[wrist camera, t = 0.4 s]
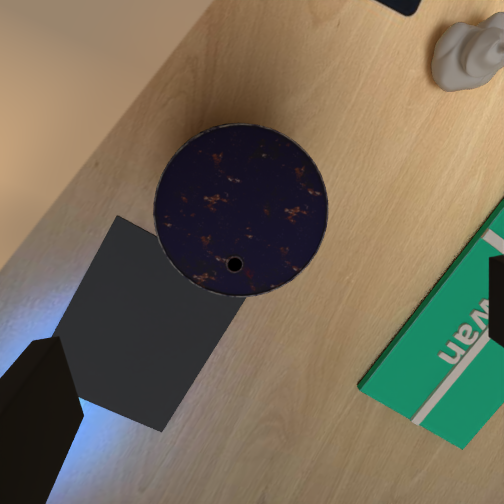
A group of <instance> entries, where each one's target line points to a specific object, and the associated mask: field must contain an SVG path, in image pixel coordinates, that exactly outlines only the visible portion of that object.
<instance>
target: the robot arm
mask: <svg viewBox="0 0 504 504" xmlns="http://www.w3.org/2000/svg"><path fill="white" fill-rule="evenodd" d="M488 337H489V338H491V339H492V340H493V341H495V342H496V343H498V344H499V345H500V346H502V347H503V348H504V255H498V256H493V257H489V311H488ZM83 417H84V414H83V411H82V407H81V404H80V401H79V398H78V394H77V391H76V388H75V385H74V382H73V378H72V375H71V372H70V369H69V365H68V362H67V359H66V356H65V353H64V349H63V346H62V343H61V340H60V337H59V336H56V337H51V338H45V339H40V340H34V341H32V342H31V343H30V344H29V345H28V347H27V348H26V349H25V350H24V351H23V352H22V354H21V355H20V356H19V357H18V358H17V359H16V361H15V362H14V363H13V364H12V365H11V366H10V368H9V369H8V370H7V371H6V372H5V373H4V375H3V376H2V377H1V378H0V504H46V501H47V499H48V497H49V495H50V492H51V490H52V488H53V485H54V483H55V481H56V479H57V476H58V474H59V472H60V470H61V467H62V465H63V463H64V460H65V458H66V456H67V454H68V451H69V449H70V447H71V445H72V442H73V440H74V438H75V435H76V433H77V431H78V429H79V426H80V424H81V422H82V420H83Z"/></svg>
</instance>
